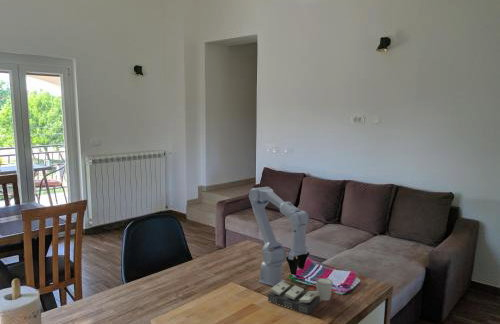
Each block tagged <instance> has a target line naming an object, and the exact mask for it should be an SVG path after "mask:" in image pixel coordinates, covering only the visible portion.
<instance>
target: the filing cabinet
mask: <svg viewBox="0 0 500 324" xmlns="http://www.w3.org/2000/svg"><path fill="white" fill-rule="evenodd" d="M291 288H292V287H291V286H290V287H289V288H288V289H287V290H285V291H284V292H283V293H282V294H280V295H277V294H275V293H274V292H272V291H270V293H268V295H267V296H268V297H267V301H271V302H274V303H277V304H280V305H283V306H286V307H285V308H287V307H289V308H288V309H290V308H292V309H291V310H293V309H295V310H294V311H296V310H297V311H296V312H299V311H300V312H299V313H302V314H305V315H307V316H308V315H309V314H311V313H312V311H314V309H316V308H317V307H318V305H319V304H320V303H321V300H320V296H318V295H317V296H316V297H315V298H313V299H312V300H311V301H310V302H309V303H307V302H300V299H301V298H302V297H303V296H304V295H305V294H306V293H307V292H308V291H303V292H302V293H301V294H300V295H299V296H298V297H296V298H295V299H294V300H293V299H291V298H289V297H287V296H285V293H286V292H287V291H289V290H290V289H291ZM271 302H270V303H271ZM274 303H273V304H274ZM277 304H276V305H277ZM280 305H279V306H280ZM283 306H282V307H283Z"/></svg>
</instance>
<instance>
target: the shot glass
mask: <svg viewBox="0 0 500 324" xmlns="http://www.w3.org/2000/svg"><path fill="white" fill-rule="evenodd" d="M315 283H316V284H315V285H316V289H315V291H318V296H320V301H324V302H325V301H329V300H331V296H332V290H333V283H334V281H333V280H331V279H329V278H326V277H325V278H321V277H320V278H317V279H316V280H315Z"/></svg>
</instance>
